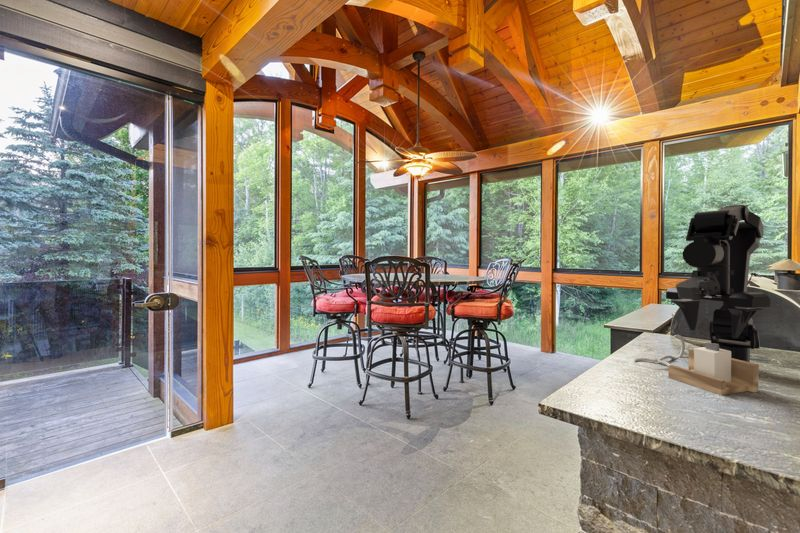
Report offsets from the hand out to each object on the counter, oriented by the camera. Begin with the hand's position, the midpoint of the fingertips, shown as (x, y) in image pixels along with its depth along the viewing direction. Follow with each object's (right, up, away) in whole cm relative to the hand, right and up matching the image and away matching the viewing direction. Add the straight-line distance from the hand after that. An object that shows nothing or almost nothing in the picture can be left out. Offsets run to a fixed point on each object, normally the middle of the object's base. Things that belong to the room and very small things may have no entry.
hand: (712, 333), depth 85 cm
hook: (+3, -12, +19) cm, 23 cm away
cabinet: (0, -11, +1) cm, 11 cm away
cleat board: (0, -12, +1) cm, 12 cm away
